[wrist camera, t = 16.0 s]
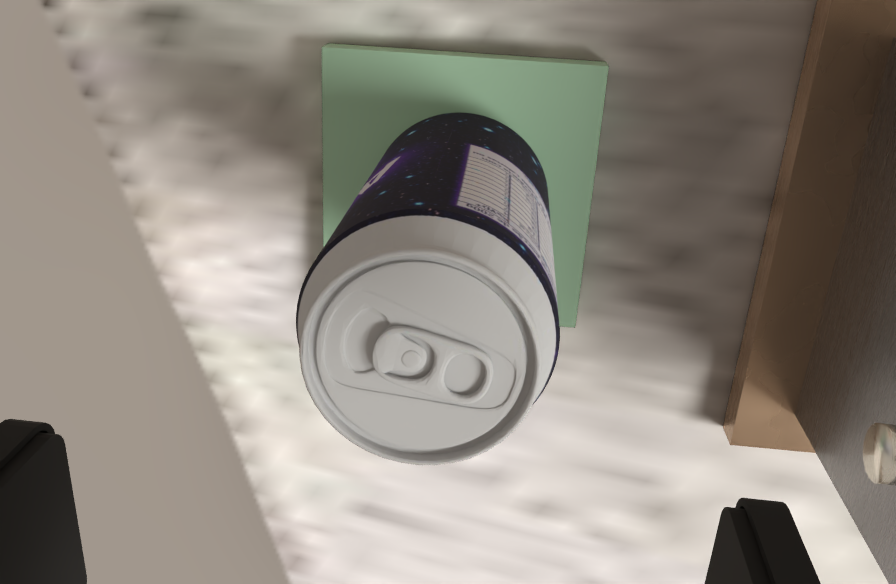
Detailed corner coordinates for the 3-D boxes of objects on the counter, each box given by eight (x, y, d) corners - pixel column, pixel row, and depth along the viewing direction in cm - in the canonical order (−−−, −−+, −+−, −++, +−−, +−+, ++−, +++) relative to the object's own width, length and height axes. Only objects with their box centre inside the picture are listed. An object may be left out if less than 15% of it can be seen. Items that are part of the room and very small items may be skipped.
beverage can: (403, 83, 26) (315, 191, 15) (572, 138, 26) (605, 284, 15) (359, 242, 28) (254, 435, 17) (515, 291, 29) (507, 513, 18)
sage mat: (328, 43, 27) (321, 47, 26) (606, 61, 26) (608, 66, 25) (330, 294, 30) (323, 305, 29) (573, 315, 30) (575, 327, 29)
